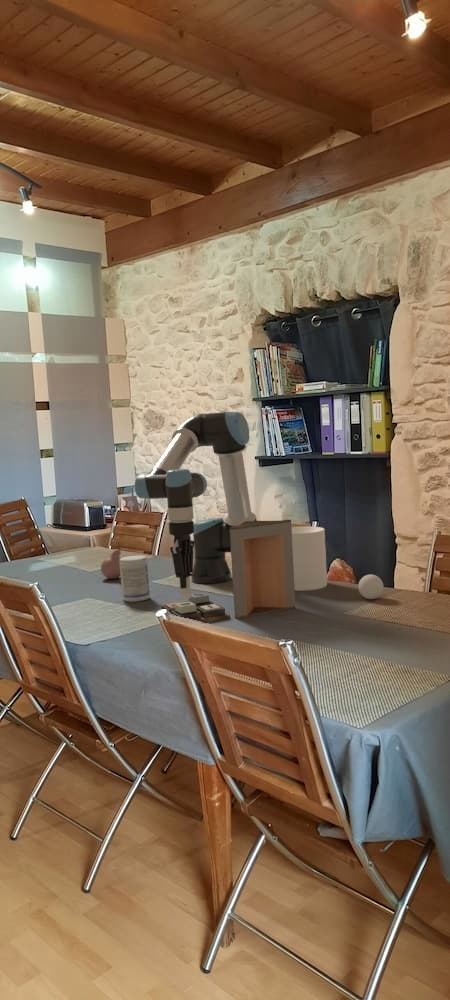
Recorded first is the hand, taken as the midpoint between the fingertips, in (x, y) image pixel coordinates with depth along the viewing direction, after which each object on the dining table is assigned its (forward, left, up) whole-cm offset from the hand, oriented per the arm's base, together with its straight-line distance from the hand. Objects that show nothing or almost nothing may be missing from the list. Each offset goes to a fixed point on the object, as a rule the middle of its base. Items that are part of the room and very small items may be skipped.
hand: (185, 598), depth 229 cm
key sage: (0, 0, -4) cm, 4 cm away
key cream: (-8, 0, -6) cm, 10 cm away
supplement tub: (+4, -39, -8) cm, 40 cm away
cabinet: (-24, +1, -8) cm, 25 cm away
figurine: (0, -80, -8) cm, 80 cm away
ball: (-60, +10, -8) cm, 61 cm away
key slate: (-8, -9, -4) cm, 13 cm away
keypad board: (-4, -5, -7) cm, 9 cm away
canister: (-53, -21, -8) cm, 57 cm away
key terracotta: (0, -9, -6) cm, 11 cm away
